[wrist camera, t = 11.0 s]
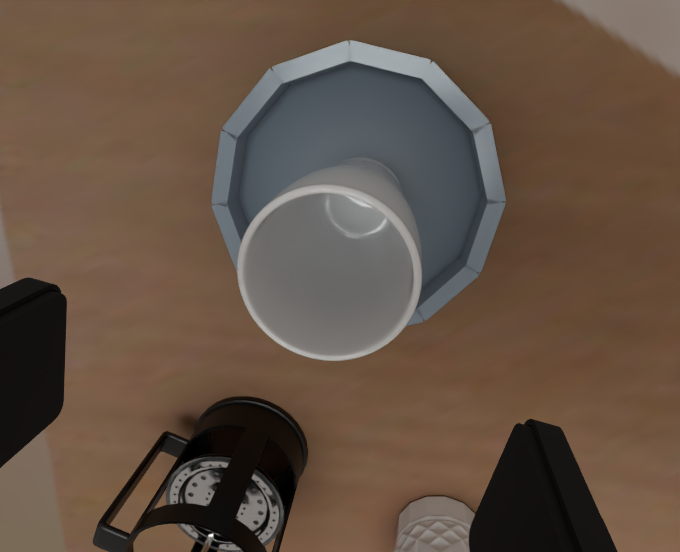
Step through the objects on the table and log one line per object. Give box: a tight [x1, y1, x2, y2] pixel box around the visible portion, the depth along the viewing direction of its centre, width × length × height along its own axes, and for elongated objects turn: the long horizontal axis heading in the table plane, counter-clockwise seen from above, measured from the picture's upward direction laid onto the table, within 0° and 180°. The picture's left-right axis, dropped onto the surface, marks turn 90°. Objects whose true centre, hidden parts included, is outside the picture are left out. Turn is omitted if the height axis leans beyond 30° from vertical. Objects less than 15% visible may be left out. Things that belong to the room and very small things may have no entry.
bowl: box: [211, 40, 506, 326], centre depth 31 cm, size 17×17×3 cm
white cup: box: [237, 157, 422, 361], centre depth 24 cm, size 7×7×15 cm
